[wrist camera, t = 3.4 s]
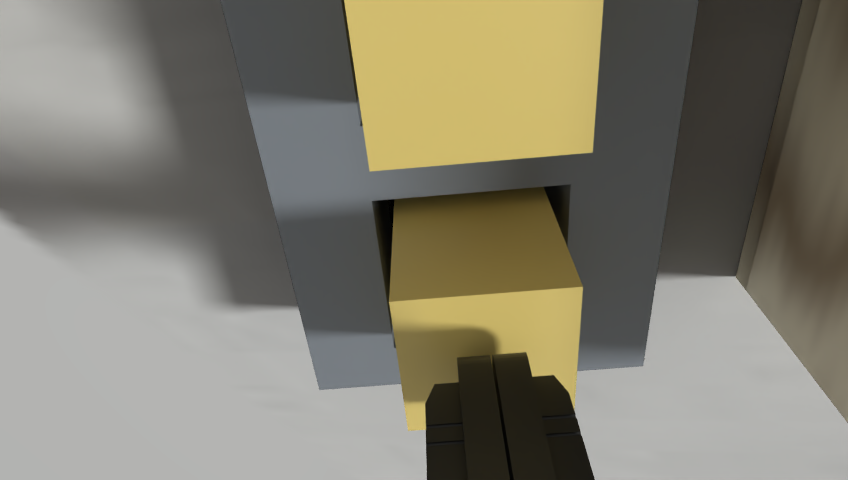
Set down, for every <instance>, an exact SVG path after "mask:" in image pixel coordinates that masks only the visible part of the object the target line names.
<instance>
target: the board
mask: <svg viewBox="0 0 848 480" xmlns="http://www.w3.org/2000/svg"><path fill="white" fill-rule="evenodd" d="M698 2H699V0H604V2H603V16H602V30H601V43H600V57H599V71H598V85H597V99H596V113H595V127H594V141H593V153H582V154H570V155H558V156H547V157H535V158H523V159H511V160H500V161H488V162H476V163H464V164H453V165H441V166H429V167H417V168H406V169H394V170H382V171H369V164H368V157H367V150H366V144H365V137H364V130H363V124H362V117H361V110H360V103H359V97H358V90H357V83H356V77H355V70H354V63H353V57H352V50H351V43H350V36H349V30H348V23H347V16H346V10H345V3H344V0H221V4H222V8H223V12H224V16H225V20H226V24H227V28H228V32H229V36H230V40H231V44H232V48H233V52H234V55H235V59H236V63H237V67H238V71H239V75H240V79H241V83H242V87H243V91H244V95H245V99H246V103H247V107H248V111H249V114H250V118H251V122H252V126H253V130H254V134H255V138H256V142H257V146H258V150H259V154H260V158H261V162H262V166H263V170H264V173H265V177H266V181H267V185H268V189H269V193H270V197H271V201H272V205H273V209H274V213H275V217H276V221H277V225H278V228H279V232H280V236H281V240H282V244H283V248H284V252H285V256H286V260H287V264H288V268H289V272H290V276H291V280H292V284H293V287H294V291H295V295H296V299H297V303H298V307H299V311H300V315H301V319H302V323H303V327H304V331H305V335H306V339H307V343H308V346H309V350H310V354H311V358H312V362H313V366H314V370H315V374H316V378H317V382H318V386H319V390H324V389H338V388H351V387H365V386H379V385H392V384H401V378H400V372H399V365H398V358H397V352H396V345H395V338H394V332H393V325H392V318H391V311H390V305H389V294H390V275H391V256H392V230H391V223H390V216H389V208H388V201H387V200H390V199H402V198H414V197H426V196H438V195H450V194H462V193H474V192H486V191H498V190H510V189H522V188H534V187H544V189H545V192H546V194H547V197H548V200H549V202H550V205H551V207H552V210H553V212H554V215H555V217H556V220H557V222H558V225H559V227H560V230H561V232H562V235H563V237H564V240H565V242H566V245H567V247H568V250H569V253H570V255H571V258H572V260H573V263H574V265H575V268H576V270H577V273H578V275H579V278H580V280H581V283H582V285H583V295H582V309H581V323H580V337H579V351H578V364H577V371H583V370H597V369H610V368H624V367H638V366H643V362H644V356H645V349H646V343H647V336H648V330H649V323H650V317H651V310H652V303H653V297H654V290H655V284H656V277H657V271H658V264H659V258H660V251H661V244H662V238H663V231H664V225H665V218H666V212H667V205H668V199H669V192H670V186H671V179H672V172H673V166H674V159H675V153H676V146H677V140H678V133H679V127H680V120H681V113H682V107H683V100H684V94H685V87H686V81H687V74H688V68H689V61H690V54H691V48H692V41H693V35H694V28H695V22H696V15H697V9H698Z"/></svg>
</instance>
